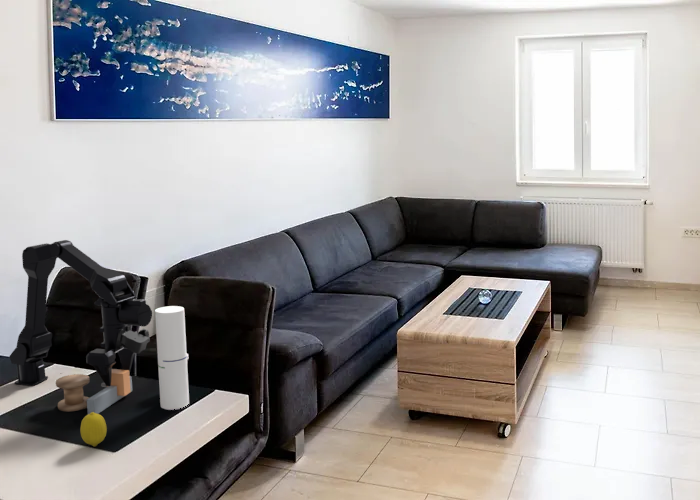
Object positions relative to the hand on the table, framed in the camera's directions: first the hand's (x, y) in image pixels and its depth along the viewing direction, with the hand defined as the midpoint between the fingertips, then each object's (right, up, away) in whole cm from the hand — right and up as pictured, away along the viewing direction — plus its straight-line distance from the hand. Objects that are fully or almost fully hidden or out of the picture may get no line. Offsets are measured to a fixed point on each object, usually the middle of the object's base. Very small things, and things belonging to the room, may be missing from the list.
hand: (118, 380), depth 196 cm
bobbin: (-10, -6, -5) cm, 12 cm away
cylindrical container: (+16, -6, -5) cm, 18 cm away
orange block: (-1, -4, +1) cm, 4 cm away
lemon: (+4, -10, -30) cm, 31 cm away
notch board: (-1, -5, -3) cm, 6 cm away
